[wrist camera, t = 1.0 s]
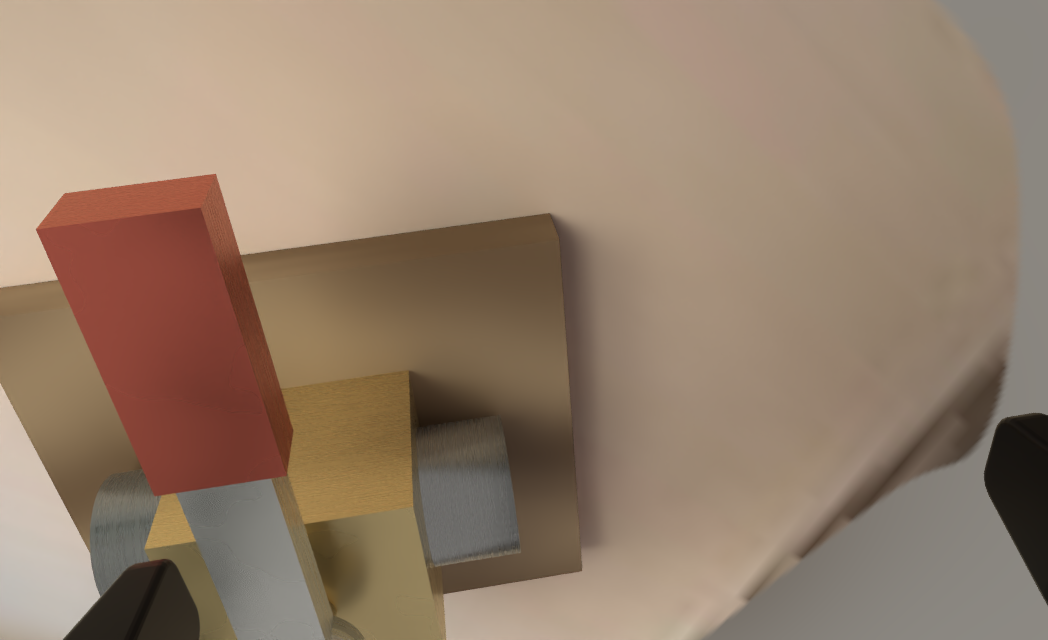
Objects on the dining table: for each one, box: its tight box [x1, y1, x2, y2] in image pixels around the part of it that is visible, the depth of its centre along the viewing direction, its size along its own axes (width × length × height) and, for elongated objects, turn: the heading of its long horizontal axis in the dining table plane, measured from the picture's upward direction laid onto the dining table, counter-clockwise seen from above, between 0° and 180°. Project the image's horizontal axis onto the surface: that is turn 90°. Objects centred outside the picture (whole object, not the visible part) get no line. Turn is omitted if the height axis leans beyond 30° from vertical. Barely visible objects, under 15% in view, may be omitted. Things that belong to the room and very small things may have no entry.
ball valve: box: [90, 370, 521, 640], centre depth 21 cm, size 6×10×6 cm, turn 95°
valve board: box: [0, 213, 582, 594], centre depth 24 cm, size 12×14×2 cm
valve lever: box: [36, 174, 365, 640], centre depth 15 cm, size 12×3×1 cm, turn 5°
